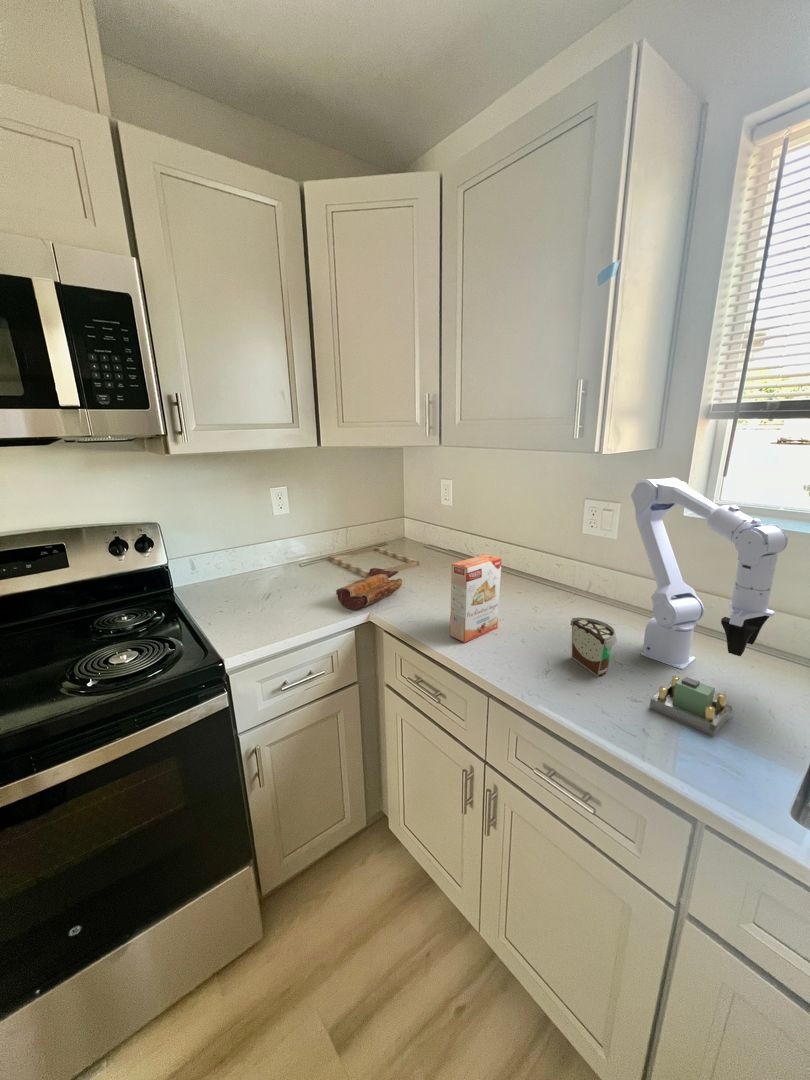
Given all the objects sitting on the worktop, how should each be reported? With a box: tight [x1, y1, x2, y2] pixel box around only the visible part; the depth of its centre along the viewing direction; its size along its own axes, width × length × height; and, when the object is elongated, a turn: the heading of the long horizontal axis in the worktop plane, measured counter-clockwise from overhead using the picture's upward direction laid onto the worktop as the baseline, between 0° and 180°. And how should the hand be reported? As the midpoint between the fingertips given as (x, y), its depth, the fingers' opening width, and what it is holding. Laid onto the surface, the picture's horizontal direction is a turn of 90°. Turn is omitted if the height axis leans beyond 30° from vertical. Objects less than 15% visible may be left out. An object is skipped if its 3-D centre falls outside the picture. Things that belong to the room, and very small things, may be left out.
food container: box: [569, 617, 617, 678], centre depth 103 cm, size 12×6×10 cm, turn 17°
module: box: [672, 676, 716, 719], centre depth 85 cm, size 6×4×6 cm, turn 38°
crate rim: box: [328, 546, 420, 579], centre depth 183 cm, size 31×24×3 cm
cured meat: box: [335, 567, 403, 611], centre depth 148 cm, size 18×25×7 cm
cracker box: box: [449, 553, 503, 644], centre depth 119 cm, size 14×6×21 cm, turn 130°
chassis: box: [649, 675, 733, 737], centre depth 86 cm, size 11×9×4 cm
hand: (740, 648), depth 91 cm, fingers open, 7 cm apart
